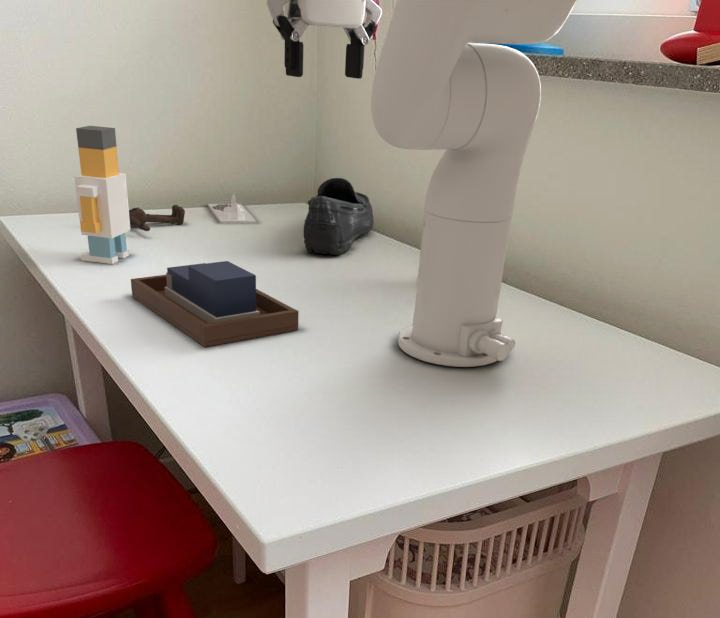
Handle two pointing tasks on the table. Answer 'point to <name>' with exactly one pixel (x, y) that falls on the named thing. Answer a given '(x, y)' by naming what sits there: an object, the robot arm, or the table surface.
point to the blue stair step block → (213, 290)
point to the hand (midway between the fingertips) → (324, 76)
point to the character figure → (101, 195)
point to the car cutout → (231, 212)
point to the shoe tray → (269, 322)
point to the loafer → (336, 218)
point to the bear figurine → (155, 217)
